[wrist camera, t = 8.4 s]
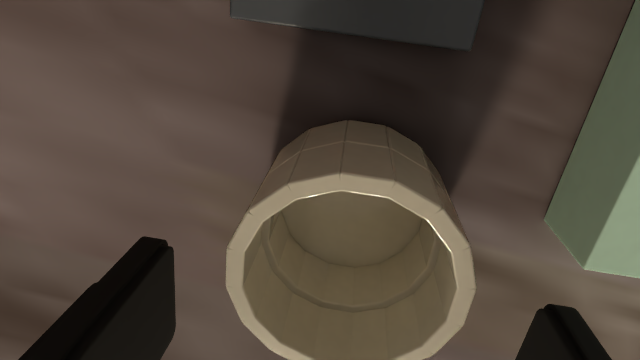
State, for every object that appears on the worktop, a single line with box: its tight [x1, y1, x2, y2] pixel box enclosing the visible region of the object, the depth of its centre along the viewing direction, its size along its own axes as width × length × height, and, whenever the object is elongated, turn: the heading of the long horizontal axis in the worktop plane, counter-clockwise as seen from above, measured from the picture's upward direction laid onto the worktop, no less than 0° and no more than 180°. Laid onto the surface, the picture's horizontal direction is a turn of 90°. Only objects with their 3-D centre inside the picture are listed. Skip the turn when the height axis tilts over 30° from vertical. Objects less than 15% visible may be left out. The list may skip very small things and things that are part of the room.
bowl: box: [226, 120, 477, 360], centre depth 13 cm, size 7×7×5 cm
